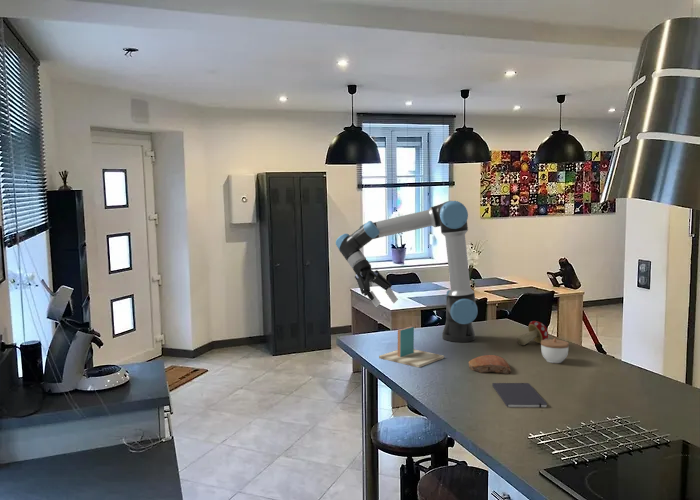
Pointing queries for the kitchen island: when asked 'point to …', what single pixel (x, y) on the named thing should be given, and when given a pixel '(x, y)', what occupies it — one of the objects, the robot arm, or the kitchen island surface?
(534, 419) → the kitchen island surface
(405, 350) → the tile
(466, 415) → the kitchen island surface
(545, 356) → the lidded jar
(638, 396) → the kitchen island surface
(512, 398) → the notebook
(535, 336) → the decorative mushroom
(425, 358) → the board
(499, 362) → the ceramic shard
